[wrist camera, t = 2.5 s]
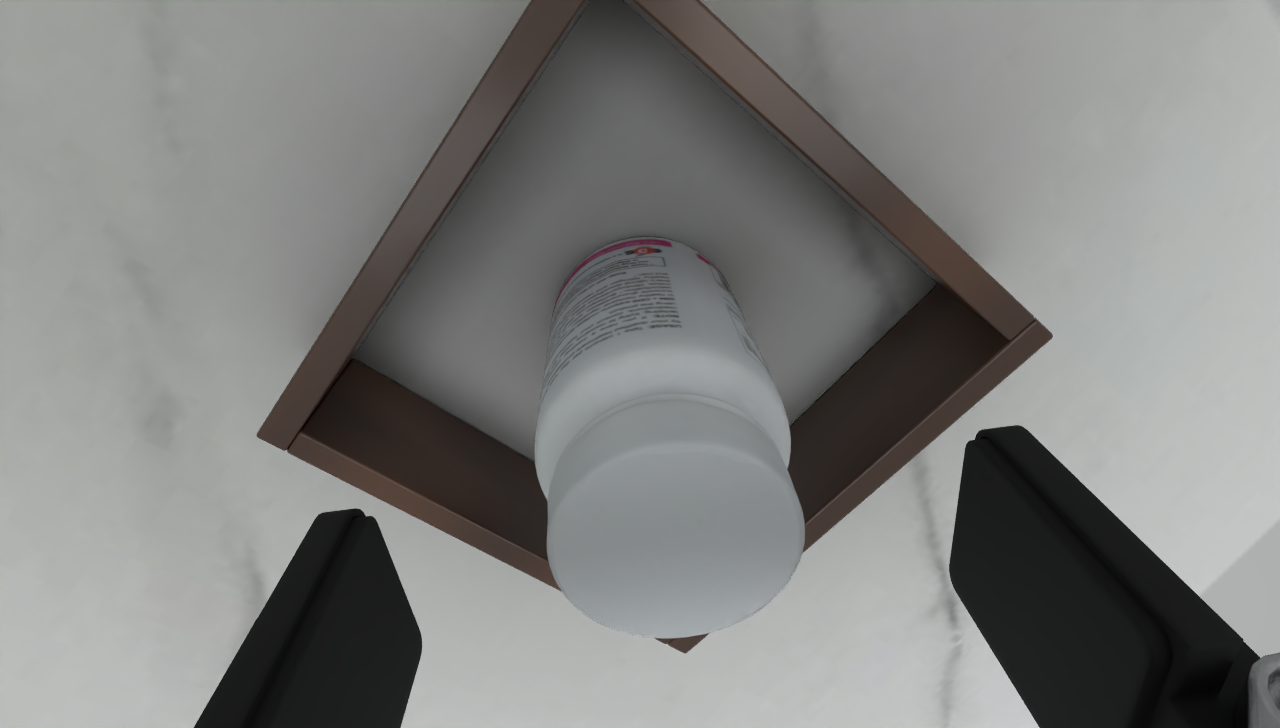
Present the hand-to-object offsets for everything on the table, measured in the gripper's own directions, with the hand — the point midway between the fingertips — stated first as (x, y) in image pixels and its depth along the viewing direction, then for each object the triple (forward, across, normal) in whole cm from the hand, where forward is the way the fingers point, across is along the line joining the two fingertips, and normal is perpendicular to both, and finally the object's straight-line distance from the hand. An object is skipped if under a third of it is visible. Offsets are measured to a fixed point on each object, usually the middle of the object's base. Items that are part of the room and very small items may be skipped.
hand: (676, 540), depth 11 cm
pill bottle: (+8, 0, 0) cm, 8 cm away
